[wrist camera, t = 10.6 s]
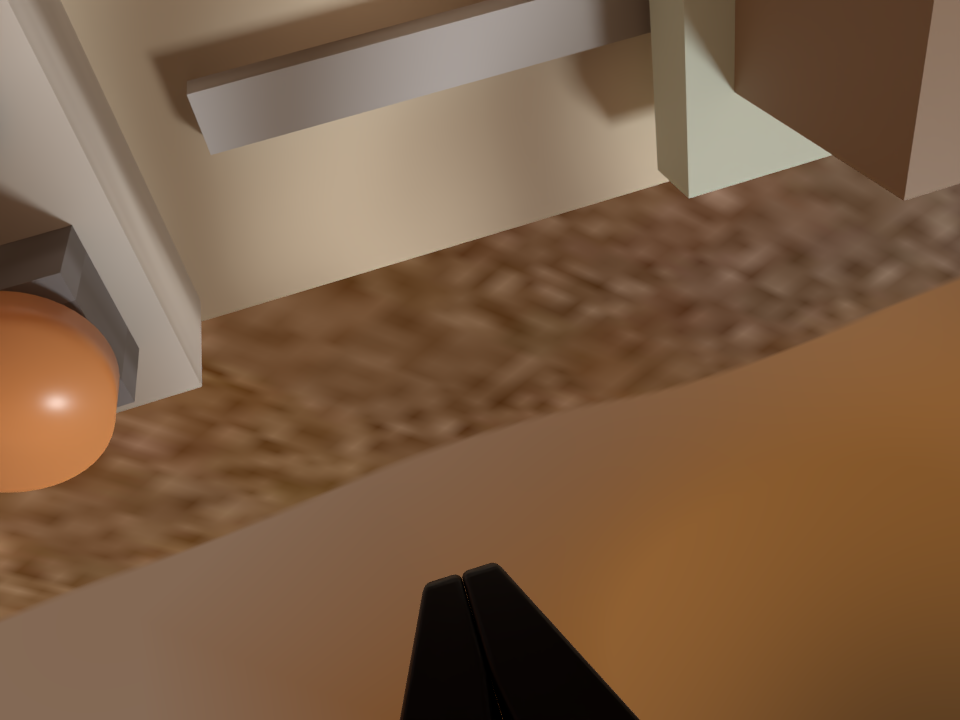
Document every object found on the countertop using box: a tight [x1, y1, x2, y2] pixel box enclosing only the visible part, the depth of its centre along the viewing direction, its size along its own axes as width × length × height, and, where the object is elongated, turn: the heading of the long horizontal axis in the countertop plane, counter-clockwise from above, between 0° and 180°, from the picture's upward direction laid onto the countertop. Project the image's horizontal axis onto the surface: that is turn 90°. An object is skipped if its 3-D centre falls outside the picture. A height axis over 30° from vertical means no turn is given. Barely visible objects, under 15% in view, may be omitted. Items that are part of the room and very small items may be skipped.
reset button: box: [0, 291, 120, 492], centre depth 13 cm, size 3×3×3 cm
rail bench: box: [0, 0, 669, 413], centre depth 16 cm, size 26×9×6 cm, turn 100°
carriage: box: [649, 0, 960, 201], centre depth 14 cm, size 7×7×6 cm
